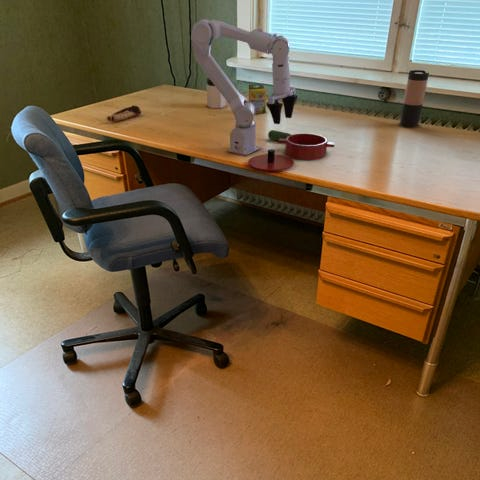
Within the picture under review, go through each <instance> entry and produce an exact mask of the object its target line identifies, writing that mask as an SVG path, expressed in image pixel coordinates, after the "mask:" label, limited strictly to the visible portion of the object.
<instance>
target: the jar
mask: <svg viewBox="0 0 480 480" xmlns="http://www.w3.org/2000/svg"><path fill="white" fill-rule="evenodd" d="M205 87H206V105H207V107H209V108H210V109H222V108H225V107H227V101H226V99H225V98H224V97H223V96H222V94H221V93H220V92H219V90H218V89H217V88H216V86H215V85H214V84H213V82H212V81H211V80H210V79H209V77H208V76H207V78H206V86H205Z"/></svg>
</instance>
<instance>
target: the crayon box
mask: <svg viewBox="0 0 480 480" xmlns="http://www.w3.org/2000/svg"><path fill="white" fill-rule="evenodd" d="M248 101H249V102H251V103H252V104H253V105H254V107H255V114H265V113H266V109H267V108H266V107H267V104H266V103H267V89H266V88H265V83H251V84H250V83H249V84H248Z"/></svg>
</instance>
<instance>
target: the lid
mask: <svg viewBox="0 0 480 480" xmlns="http://www.w3.org/2000/svg"><path fill="white" fill-rule="evenodd" d="M247 164H248V166H249V167H251V168H252V169H254V170H258V171H264V172H279V171H285V170H288V169H291V168H293V166H294V164H295V162H294V159H293V158H291V157H289V156H287V155H282V154H277V153H276V150H275V149H273V148H269V149H268V150H267V154H266V153H263V154H257V155H255V156H251V157H250V158H249V159H248V162H247Z"/></svg>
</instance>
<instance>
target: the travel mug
mask: <svg viewBox="0 0 480 480" xmlns="http://www.w3.org/2000/svg"><path fill="white" fill-rule="evenodd" d="M407 75H408V76H407V81H406V86H405V92H404V96H403V101H402V107H401V114H400V121H399V126H401V127H403V128H412V129H413V128H416V127H418V125H419V122H420V118H421V114H422V109H423V106H424V100H425V96H426V95H425V94H426V89H427V85H428V82H429V81H428V80H429V76H430V72H426V71H425V70H422V69H413V70H409V71H408V74H407Z"/></svg>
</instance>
